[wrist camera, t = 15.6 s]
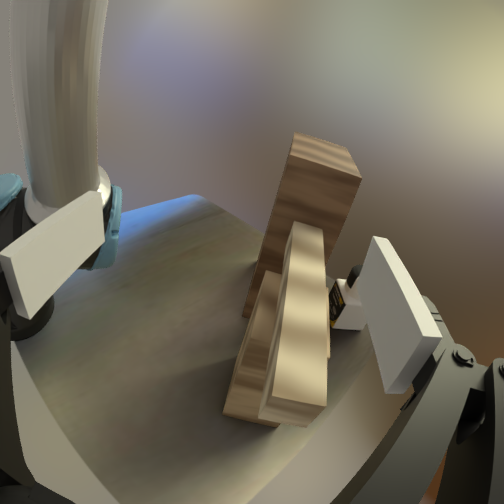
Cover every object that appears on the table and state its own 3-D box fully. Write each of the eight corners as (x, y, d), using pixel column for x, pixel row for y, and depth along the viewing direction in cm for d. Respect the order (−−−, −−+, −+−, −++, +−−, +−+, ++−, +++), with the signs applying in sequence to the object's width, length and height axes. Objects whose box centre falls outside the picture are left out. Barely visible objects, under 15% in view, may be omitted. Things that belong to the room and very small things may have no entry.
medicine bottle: (323, 303, 63) (346, 258, 56) (352, 306, 64) (376, 263, 57) (331, 329, 57) (357, 282, 50) (361, 331, 58) (389, 287, 51)
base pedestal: (277, 427, 38) (330, 357, 28) (222, 414, 38) (250, 338, 28) (285, 368, 47) (328, 287, 37) (237, 356, 47) (265, 270, 37)
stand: (294, 330, 55) (362, 178, 38) (241, 316, 55) (290, 154, 38) (299, 272, 69) (346, 147, 53) (257, 260, 70) (294, 131, 53)
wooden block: (305, 427, 21) (326, 406, 19) (257, 418, 21) (271, 395, 19) (312, 253, 43) (322, 229, 41) (285, 245, 43) (294, 220, 41)
